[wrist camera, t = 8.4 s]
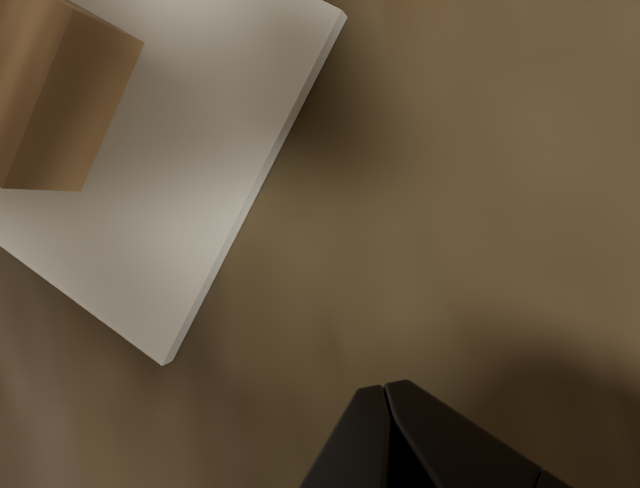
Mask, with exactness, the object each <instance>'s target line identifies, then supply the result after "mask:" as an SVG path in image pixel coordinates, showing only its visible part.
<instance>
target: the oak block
mask: <svg viewBox="0 0 640 488" xmlns="http://www.w3.org/2000/svg"><path fill="white" fill-rule="evenodd" d="M143 46H144V42H143V41H141V40H139V39H137V38H136V37H134V36H132V35H130V34H128V33H127V32H125V31H123V30H121V29H120V28H118V27H116V26H114V25H112V24H111V23H109V22H107V21H105V20H104V19H102V18H100V17H98V16H97V15H95V14H93V13H91V12H89V11H88V10H86V9H84V8H82V7H81V6H79V5H77V4H75V3H73V2H72V1H70V0H0V187H1V188H2V189H26V190H51V191H76V192H81V189H82V187H83V185H84V182H85V180H86V178H87V175H88V173H89V171H90V169H91V166H92V164H93V162H94V159H95V157H96V155H97V152H98V150H99V148H100V145H101V143H102V141H103V138H104V136H105V134H106V131H107V129H108V127H109V124H110V122H111V120H112V118H113V115H114V113H115V111H116V108H117V106H118V104H119V101H120V99H121V97H122V94H123V92H124V90H125V87H126V85H127V83H128V80H129V78H130V76H131V73H132V71H133V69H134V67H135V64H136V62H137V60H138V57H139V55H140V53H141V50H142V48H143Z"/></svg>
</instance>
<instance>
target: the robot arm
mask: <svg viewBox="0 0 640 488" xmlns="http://www.w3.org/2000/svg"><path fill="white" fill-rule="evenodd" d="M384 391H385V392H384ZM299 488H574V487H572V486H571V485H569V484H567V483H566V482H564V481H563V480H561V479H560V478H558V477H557V476H555V475H554V474H552V473H551V472H549V471H547V470H543V468H542V467H541V466H539V465H538V464H536V463H535V462H533V461H532V460H530V459H529V458H527V457H526V456H524V455H523V454H521V453H520V452H518V451H517V450H515V449H514V448H512V447H511V446H509V445H508V444H506V443H504V442H503V441H501V440H500V439H498V438H497V437H495V436H494V435H492V434H491V433H489V432H488V431H486V430H485V429H483V428H482V427H480V426H479V425H477V424H476V423H474V422H473V421H471V420H469V419H468V418H466V417H465V416H463V415H462V414H460V413H459V412H457V411H456V410H454V409H453V408H451V407H450V406H448V405H447V404H445V403H444V402H442V401H441V400H439V399H438V398H436V397H434V396H433V395H431V394H430V393H428V392H427V391H425V390H424V389H422V388H421V387H419V386H418V385H416V384H415V383H413V382H412V381H410V380H400V381H395V382H390V383H387V384H385V386H384V388H383V387H382V386H381V385H374V386H369V387H364V388H360V389H358V390H357V391H356V393H355V395H354V396H353V398H352V400H351V401H350V403H349V405H348V406H347V408H346V410H345V411H344V413H343V415H342V416H341V418H340V420H339V421H338V423H337V425H336V426H335V428H334V430H333V431H332V433H331V435H330V436H329V438H328V440H327V441H326V443H325V445H324V446H323V448H322V450H321V451H320V453H319V455H318V456H317V458H316V460H315V461H314V463H313V465H312V466H311V468H310V470H309V471H308V473H307V475H306V476H305V478H304V480H303V481H302V483H301V485H300V486H299Z"/></svg>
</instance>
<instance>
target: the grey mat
mask: <svg viewBox="0 0 640 488" xmlns="http://www.w3.org/2000/svg"><path fill="white" fill-rule="evenodd" d="M70 1H72V2H73V3H75V4H77V5H79V6H81V7H82V8H84V9H86V10H88V11H89V12H91V13H93V14H95V15H97V16H98V17H100V18H102V19H104V20H105V21H107V22H109V23H111V24H112V25H114V26H116V27H118V28H120V29H121V30H123V31H125V32H127V33H128V34H130V35H132V36H134V37H136V38H137V39H139V40H141V41H143V42H144V46H143V48H142V50H141V53H140V55H139V57H138V60H137V62H136V64H135V67H134V69H133V71H132V73H131V76H130V78H129V80H128V83H127V85H126V87H125V90H124V92H123V94H122V97H121V99H120V101H119V104H118V106H117V108H116V111H115V113H114V115H113V118H112V120H111V122H110V124H109V127H108V129H107V131H106V134H105V136H104V138H103V141H102V143H101V145H100V148H99V150H98V152H97V155H96V157H95V159H94V162H93V164H92V166H91V169H90V171H89V173H88V175H87V178H86V180H85V182H84V185H83V187H82V189H81V192H76V191H51V190H26V189H2V188H1V187H0V246H1V247H2V248H4V249H5V250H6V251H8V252H9V253H10V254H12V255H13V256H14V257H16V258H17V259H18V260H20V261H21V262H23V263H24V264H25V265H27V266H28V267H29V268H31V269H32V270H33V271H35V272H36V273H37V274H39V275H40V276H41V277H43V278H44V279H45V280H47V281H48V282H49V283H51V284H52V285H54V286H55V287H56V288H58V289H59V290H60V291H62V292H63V293H64V294H66V295H67V296H68V297H70V298H71V299H72V300H74V301H75V302H76V303H78V304H79V305H80V306H82V307H83V308H85V309H86V310H87V311H89V312H90V313H91V314H93V315H94V316H95V317H97V318H98V319H99V320H101V321H102V322H103V323H105V324H106V325H107V326H109V327H110V328H111V329H113V330H114V331H116V332H117V333H118V334H120V335H121V336H122V337H124V338H125V339H126V340H128V341H129V342H130V343H132V344H133V345H134V346H136V347H137V348H138V349H140V350H141V351H142V352H144V353H145V354H147V355H148V356H149V357H151V358H152V359H153V360H155V361H156V362H157V363H159V364H160V365H161V366H163V365H165V364H167V363H169V362H172V361H173V359H174V357H175V355H176V353H177V351H178V349H179V347H180V346H181V344H182V342H183V340H184V338H185V336H186V334H187V332H188V330H189V328H190V326H191V324H192V322H193V320H194V318H195V316H196V314H197V312H198V310H199V308H200V306H201V304H202V302H203V300H204V298H205V296H206V294H207V292H208V291H209V289H210V287H211V285H212V283H213V281H214V279H215V277H216V275H217V273H218V271H219V269H220V267H221V265H222V263H223V261H224V259H225V257H226V255H227V253H228V251H229V249H230V247H231V245H232V243H233V241H234V239H235V237H236V236H237V234H238V232H239V230H240V228H241V226H242V224H243V222H244V220H245V218H246V216H247V214H248V212H249V210H250V208H251V206H252V204H253V202H254V200H255V198H256V196H257V194H258V192H259V190H260V188H261V186H262V184H263V182H264V180H265V179H266V177H267V175H268V173H269V171H270V169H271V167H272V165H273V163H274V161H275V159H276V157H277V155H278V153H279V151H280V149H281V147H282V145H283V143H284V141H285V139H286V137H287V135H288V133H289V131H290V129H291V127H292V125H293V124H294V122H295V120H296V118H297V116H298V114H299V112H300V110H301V108H302V106H303V104H304V102H305V100H306V98H307V96H308V94H309V92H310V90H311V88H312V86H313V84H314V82H315V80H316V78H317V76H318V74H319V72H320V70H321V68H322V67H323V65H324V63H325V61H326V59H327V57H328V55H329V53H330V51H331V49H332V47H333V45H334V43H335V41H336V39H337V37H338V35H339V33H340V31H341V29H342V27H343V25H344V23H345V21H346V19H347V16H346V14H345V13H344V12H343V11H342V10H341V9H339V8H337V7H335V6H333V5H331V4H329V3H327V2H325V1H323V0H70Z"/></svg>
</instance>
